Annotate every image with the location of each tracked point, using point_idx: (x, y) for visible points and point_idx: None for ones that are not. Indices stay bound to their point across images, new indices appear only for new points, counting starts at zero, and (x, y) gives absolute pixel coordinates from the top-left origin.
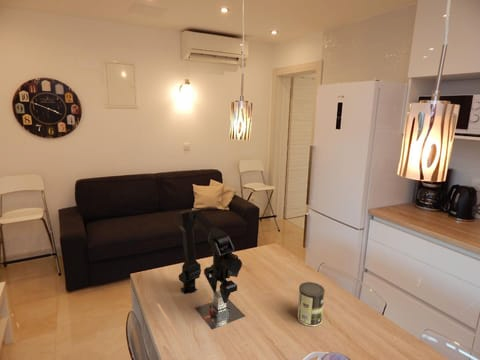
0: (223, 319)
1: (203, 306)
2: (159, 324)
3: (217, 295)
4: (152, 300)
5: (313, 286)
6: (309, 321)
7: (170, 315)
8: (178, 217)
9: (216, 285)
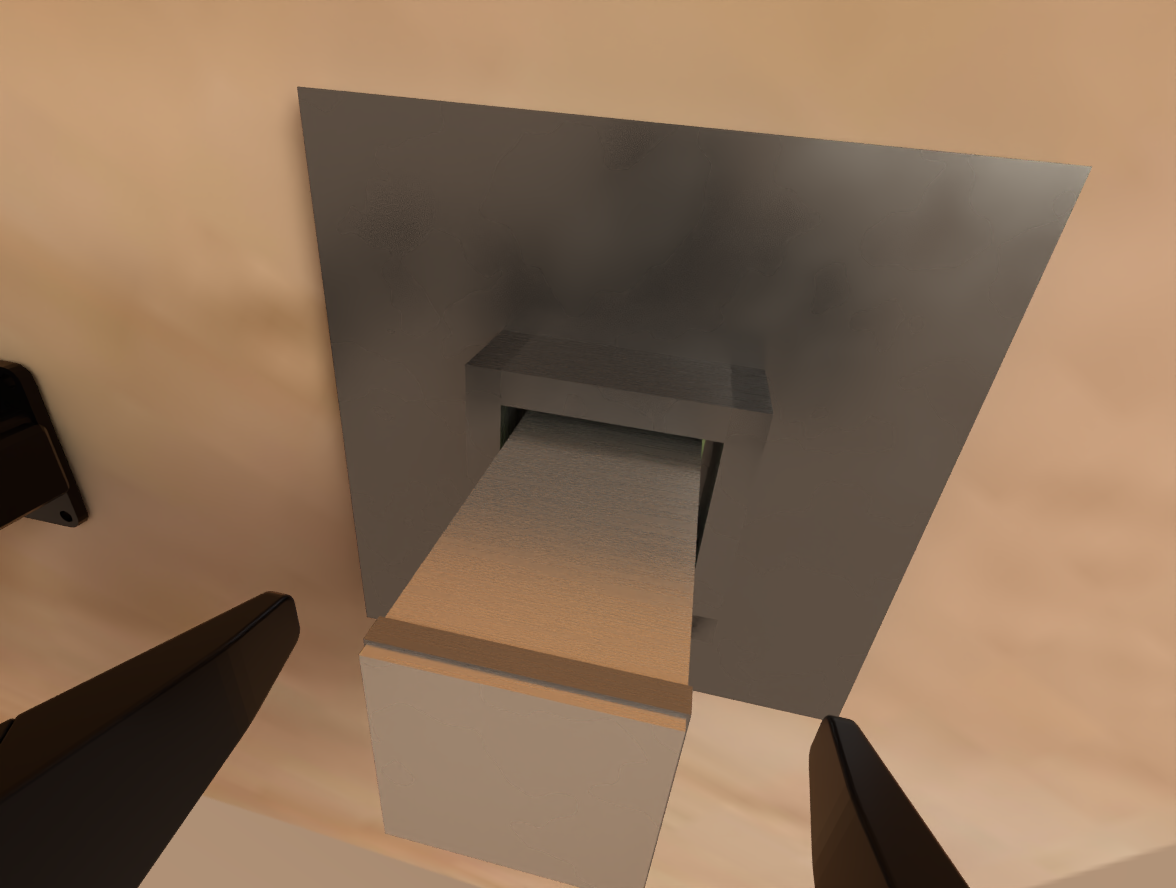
0: (796, 529)
1: (383, 539)
2: None
3: (575, 876)
4: None
5: None
6: None
7: (361, 754)
8: None
9: (134, 720)
